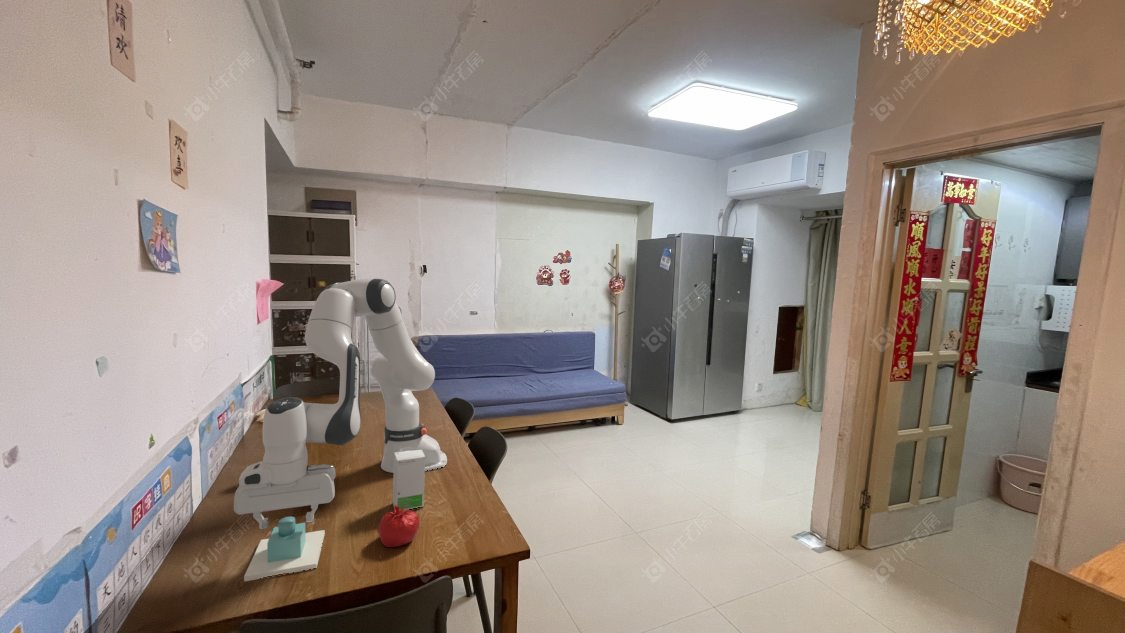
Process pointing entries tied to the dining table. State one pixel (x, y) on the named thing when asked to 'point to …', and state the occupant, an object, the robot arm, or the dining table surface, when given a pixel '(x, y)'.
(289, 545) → the teal knobbed block
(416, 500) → the skincare box
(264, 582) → the dining table surface
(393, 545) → the pomegranate
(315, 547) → the post stand
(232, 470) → the dining table surface
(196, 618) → the dining table surface
